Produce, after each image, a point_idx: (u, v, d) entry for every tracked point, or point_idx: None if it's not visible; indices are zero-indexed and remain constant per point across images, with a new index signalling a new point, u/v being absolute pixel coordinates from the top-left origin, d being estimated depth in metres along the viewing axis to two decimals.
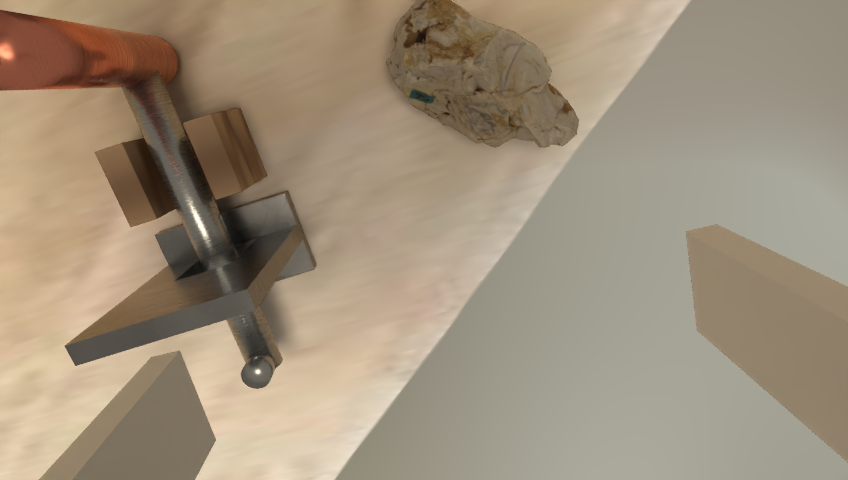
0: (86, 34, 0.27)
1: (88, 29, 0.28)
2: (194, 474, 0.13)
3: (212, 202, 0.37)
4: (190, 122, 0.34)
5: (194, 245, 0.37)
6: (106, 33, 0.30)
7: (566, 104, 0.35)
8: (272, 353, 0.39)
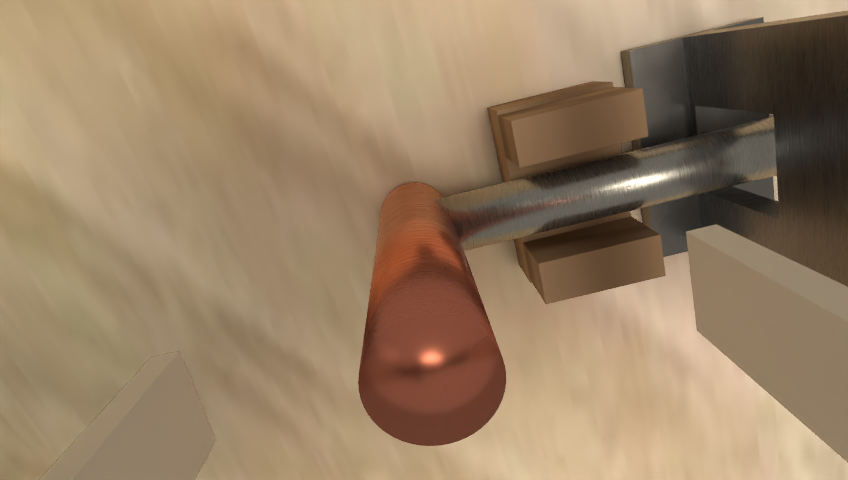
0: (394, 254, 0.16)
1: (384, 255, 0.17)
2: (194, 474, 0.13)
3: (641, 150, 0.23)
4: (520, 155, 0.21)
5: (708, 187, 0.23)
6: (388, 238, 0.19)
7: None
8: None
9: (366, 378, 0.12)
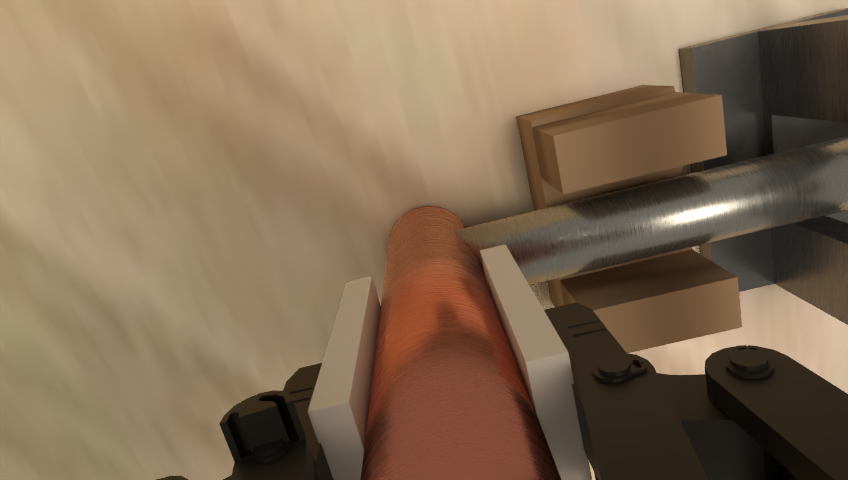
0: (406, 321, 0.12)
1: (392, 318, 0.13)
2: None
3: (712, 171, 0.18)
4: (564, 178, 0.17)
5: (797, 218, 0.18)
6: (397, 290, 0.14)
7: None
8: None
9: None
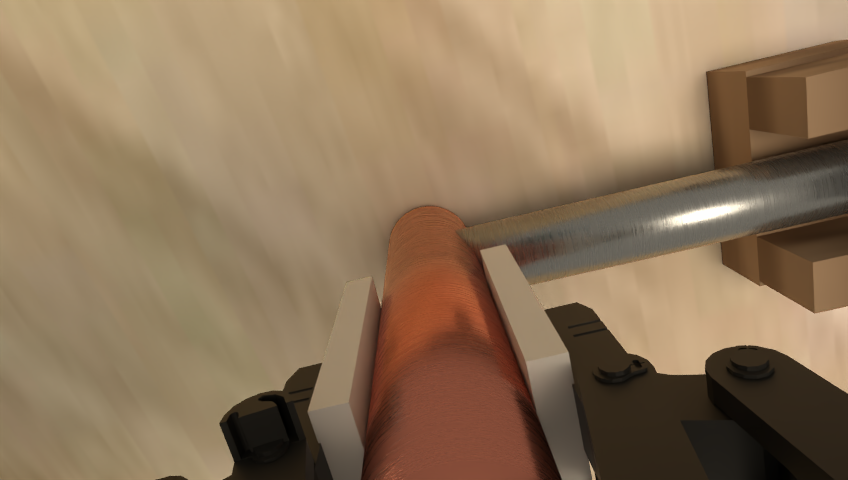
0: (407, 321, 0.12)
1: (393, 318, 0.13)
2: None
3: (714, 173, 0.18)
4: (811, 122, 0.17)
5: (799, 220, 0.18)
6: (398, 290, 0.14)
7: None
8: None
9: None
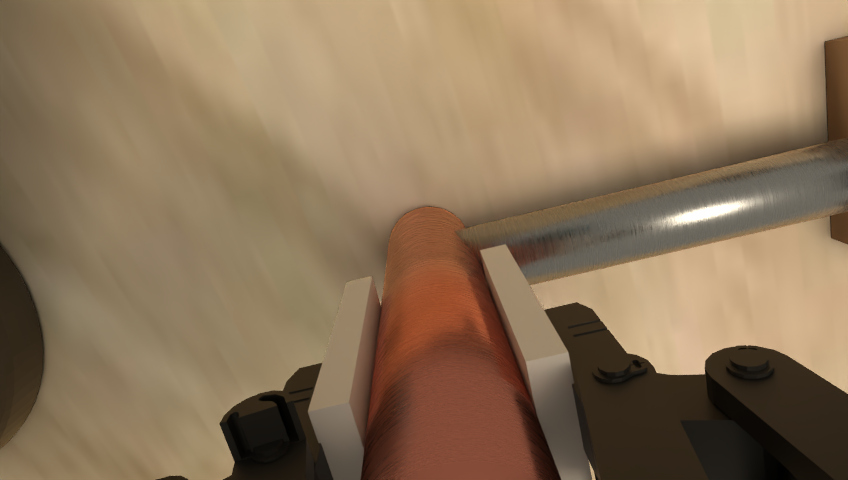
0: (407, 322, 0.12)
1: (393, 319, 0.13)
2: None
3: (713, 172, 0.18)
4: None
5: (798, 219, 0.18)
6: (397, 291, 0.14)
7: None
8: None
9: None
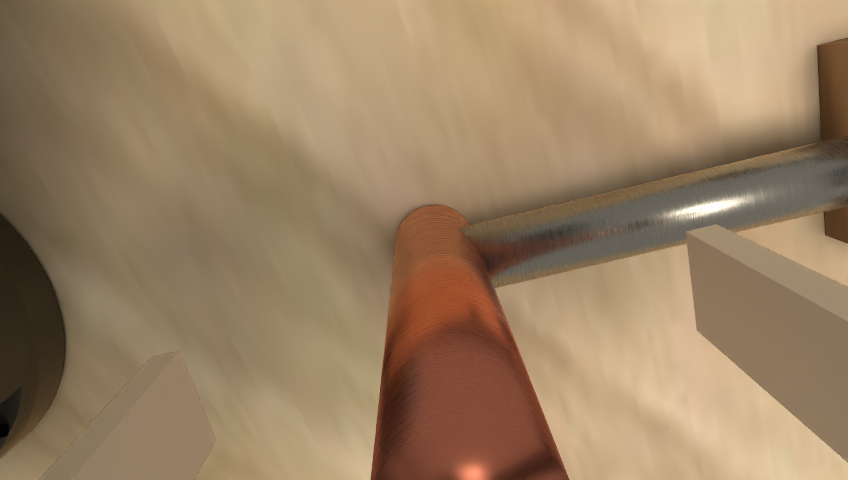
0: (415, 310, 0.13)
1: (401, 308, 0.14)
2: (194, 474, 0.13)
3: (707, 171, 0.19)
4: None
5: (788, 216, 0.19)
6: (405, 282, 0.15)
7: None
8: None
9: None
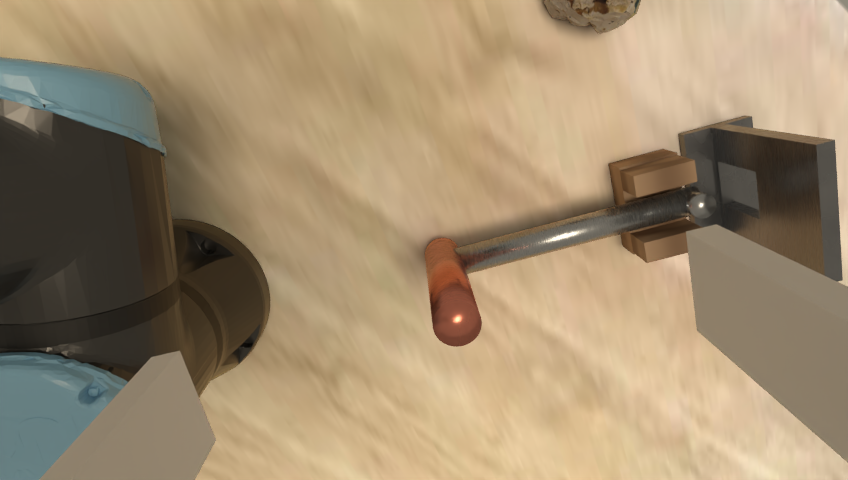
0: (439, 279, 0.41)
1: (434, 279, 0.42)
2: (194, 474, 0.13)
3: (552, 224, 0.47)
4: (637, 191, 0.45)
5: (585, 241, 0.47)
6: (434, 271, 0.43)
7: None
8: (686, 192, 0.47)
9: (435, 323, 0.37)
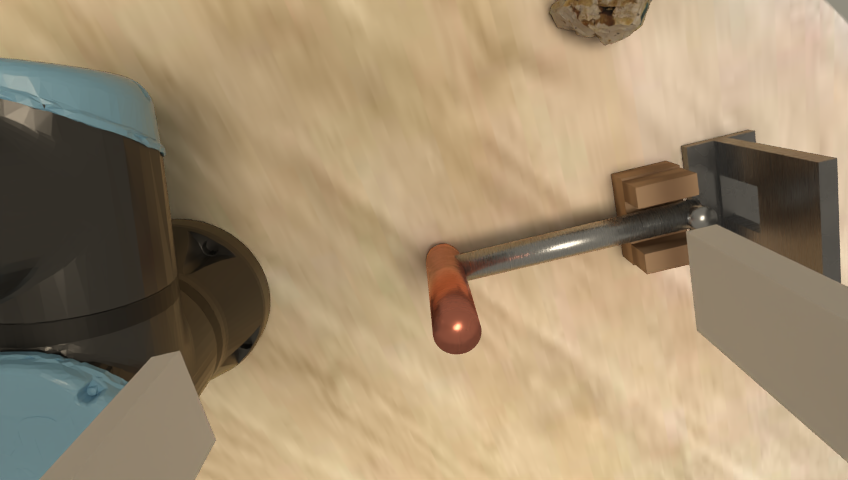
0: (440, 286, 0.41)
1: (435, 286, 0.42)
2: (194, 474, 0.13)
3: (554, 233, 0.48)
4: (638, 203, 0.46)
5: (586, 251, 0.47)
6: (435, 278, 0.43)
7: None
8: (687, 205, 0.47)
9: (435, 330, 0.37)
